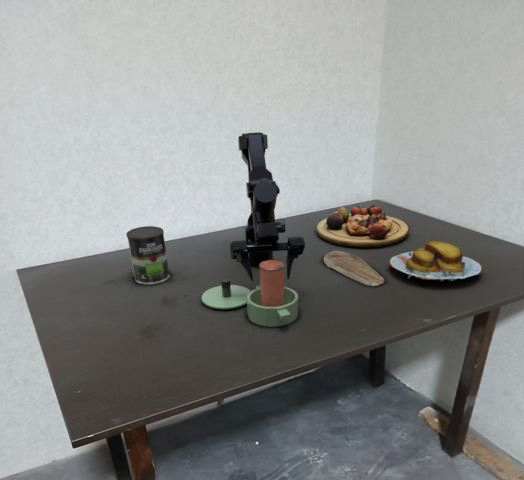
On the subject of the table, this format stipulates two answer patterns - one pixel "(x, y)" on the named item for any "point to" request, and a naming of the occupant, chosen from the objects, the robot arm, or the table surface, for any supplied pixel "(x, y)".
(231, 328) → the table surface
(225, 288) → the pot lid
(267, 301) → the reddish translucent cylinder
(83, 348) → the table surface
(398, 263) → the food on plate
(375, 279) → the brown flat tapered piece
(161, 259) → the coffee can
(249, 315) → the pot
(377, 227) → the wooden plate
